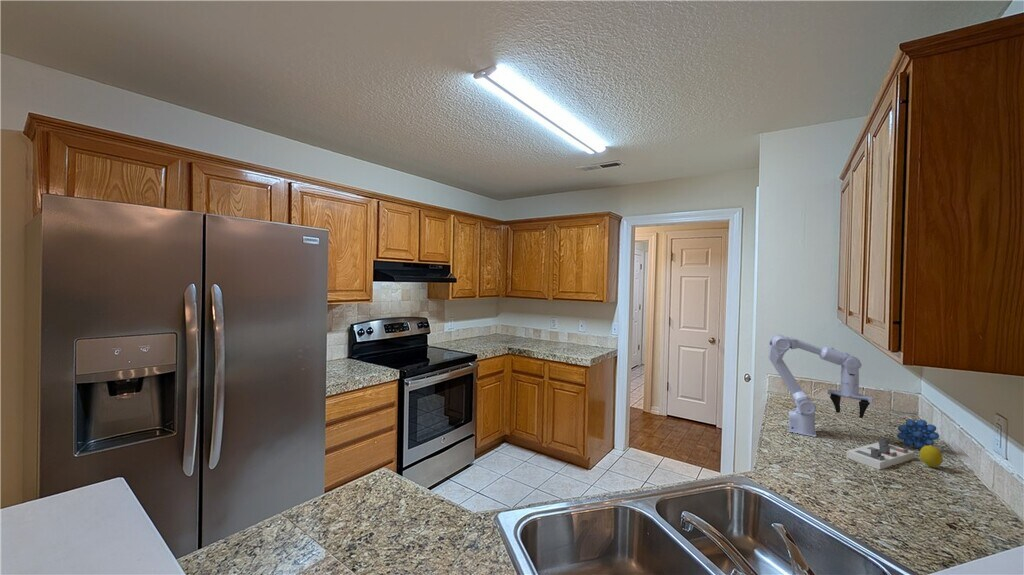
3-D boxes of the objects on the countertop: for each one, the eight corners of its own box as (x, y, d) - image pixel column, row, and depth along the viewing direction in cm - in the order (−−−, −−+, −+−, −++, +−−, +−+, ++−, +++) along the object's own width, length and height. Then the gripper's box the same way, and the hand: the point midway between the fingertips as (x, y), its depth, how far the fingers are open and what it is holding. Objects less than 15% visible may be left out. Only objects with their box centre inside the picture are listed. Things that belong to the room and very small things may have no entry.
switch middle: (886, 453, 140) (886, 446, 140) (879, 451, 142) (879, 444, 142) (889, 452, 141) (889, 445, 141) (883, 450, 143) (883, 443, 143)
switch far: (885, 446, 146) (885, 439, 146) (878, 444, 148) (878, 437, 148) (888, 445, 147) (888, 438, 147) (882, 443, 149) (882, 436, 149)
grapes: (936, 449, 150) (936, 419, 150) (940, 455, 145) (940, 424, 145) (895, 441, 158) (895, 412, 158) (897, 446, 153) (898, 417, 152)
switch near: (877, 458, 136) (877, 451, 136) (870, 456, 138) (870, 449, 138) (881, 457, 137) (881, 450, 137) (874, 455, 139) (874, 447, 139)
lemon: (947, 471, 133) (947, 448, 133) (931, 470, 133) (931, 448, 133) (930, 463, 138) (930, 442, 138) (915, 463, 138) (915, 441, 138)
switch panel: (879, 469, 134) (880, 459, 134) (846, 457, 143) (846, 448, 143) (914, 458, 142) (914, 449, 142) (880, 447, 151) (880, 438, 151)
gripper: (824, 380, 164) (824, 411, 164) (869, 388, 151) (869, 422, 151) (831, 378, 167) (830, 408, 167) (875, 386, 155) (874, 418, 155)
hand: (849, 415), depth 160 cm, fingers open, 7 cm apart
